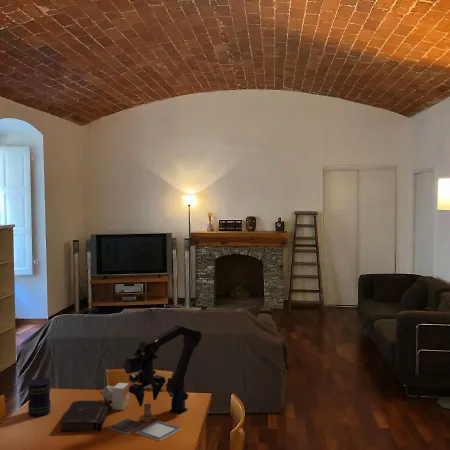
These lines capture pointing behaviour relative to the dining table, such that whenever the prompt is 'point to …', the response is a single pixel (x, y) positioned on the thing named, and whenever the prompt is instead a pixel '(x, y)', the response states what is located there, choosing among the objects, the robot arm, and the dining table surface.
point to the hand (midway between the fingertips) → (147, 403)
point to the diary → (85, 416)
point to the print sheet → (158, 430)
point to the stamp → (147, 414)
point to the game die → (107, 393)
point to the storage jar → (39, 397)
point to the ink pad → (126, 426)
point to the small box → (120, 396)
